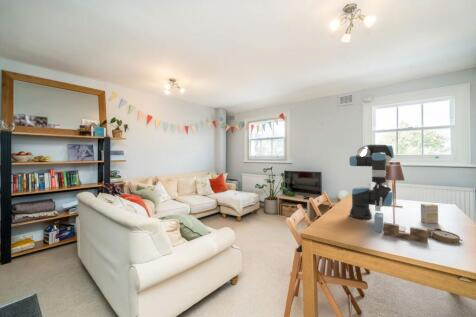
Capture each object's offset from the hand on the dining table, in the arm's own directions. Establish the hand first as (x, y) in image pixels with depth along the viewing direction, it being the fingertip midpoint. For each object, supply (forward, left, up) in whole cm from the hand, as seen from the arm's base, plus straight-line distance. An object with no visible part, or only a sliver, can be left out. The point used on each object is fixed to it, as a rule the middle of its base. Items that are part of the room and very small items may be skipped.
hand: (378, 208), depth 134 cm
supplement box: (+27, +38, -14) cm, 49 cm away
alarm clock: (+30, +6, -14) cm, 34 cm away
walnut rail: (+13, -7, -14) cm, 20 cm away
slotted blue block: (0, 0, -14) cm, 14 cm away
